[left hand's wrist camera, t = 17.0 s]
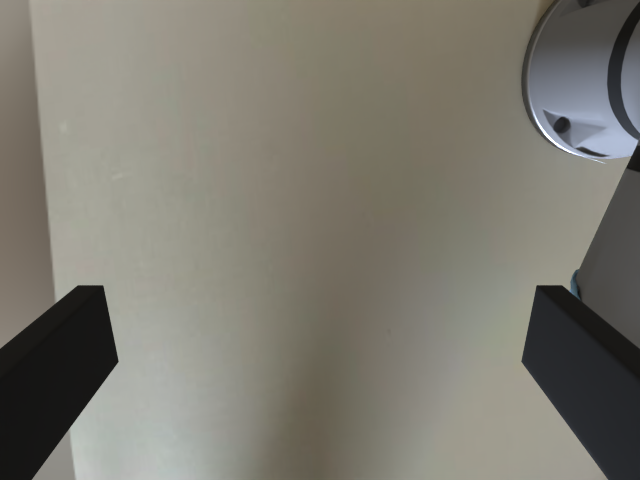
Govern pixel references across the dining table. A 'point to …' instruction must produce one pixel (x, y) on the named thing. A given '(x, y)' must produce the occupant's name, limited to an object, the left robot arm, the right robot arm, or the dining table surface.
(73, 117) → the dining table surface
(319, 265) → the dining table surface
